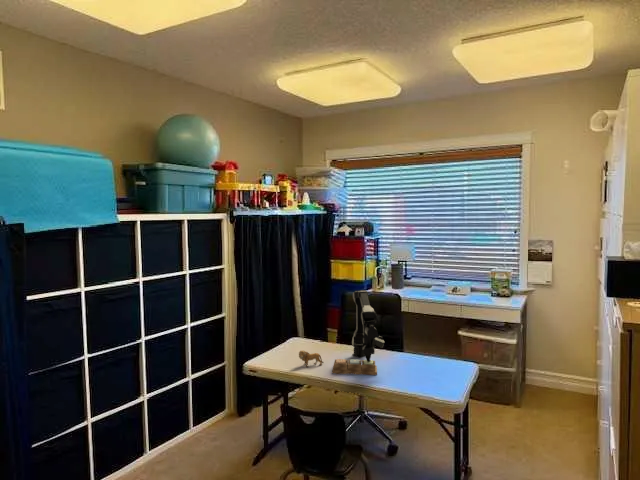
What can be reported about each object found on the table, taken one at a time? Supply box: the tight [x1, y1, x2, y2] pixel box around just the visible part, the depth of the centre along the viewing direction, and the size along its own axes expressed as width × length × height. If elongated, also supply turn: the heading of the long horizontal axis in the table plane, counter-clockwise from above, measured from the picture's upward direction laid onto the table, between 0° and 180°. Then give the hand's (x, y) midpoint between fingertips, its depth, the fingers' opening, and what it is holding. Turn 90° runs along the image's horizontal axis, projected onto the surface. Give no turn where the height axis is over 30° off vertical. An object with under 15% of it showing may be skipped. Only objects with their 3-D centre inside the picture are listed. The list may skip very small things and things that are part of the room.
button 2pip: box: [363, 359, 374, 365], centre depth 241 cm, size 5×5×2 cm
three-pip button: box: [335, 358, 347, 364], centre depth 242 cm, size 5×5×2 cm
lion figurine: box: [298, 350, 324, 367], centre depth 251 cm, size 15×5×9 cm, turn 108°
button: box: [349, 359, 360, 364], centre depth 242 cm, size 5×5×2 cm
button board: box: [331, 359, 378, 376], centre depth 242 cm, size 24×10×5 cm, turn 84°
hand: (368, 361), depth 241 cm, fingers closed, pressing on button 2pip
